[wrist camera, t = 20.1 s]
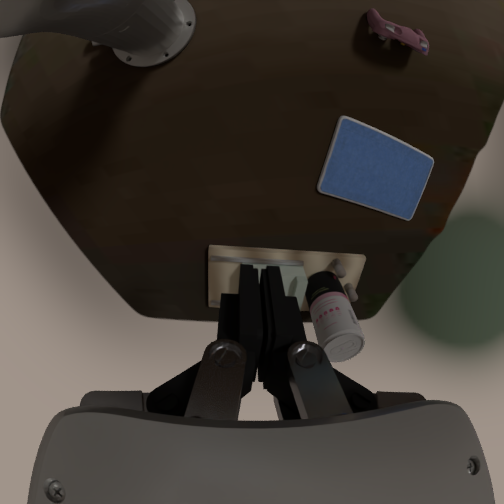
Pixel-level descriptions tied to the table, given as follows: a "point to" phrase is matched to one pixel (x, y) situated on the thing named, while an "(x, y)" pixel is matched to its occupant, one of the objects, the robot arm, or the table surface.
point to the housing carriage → (289, 279)
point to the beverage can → (333, 317)
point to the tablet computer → (374, 169)
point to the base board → (230, 257)
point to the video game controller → (398, 32)
